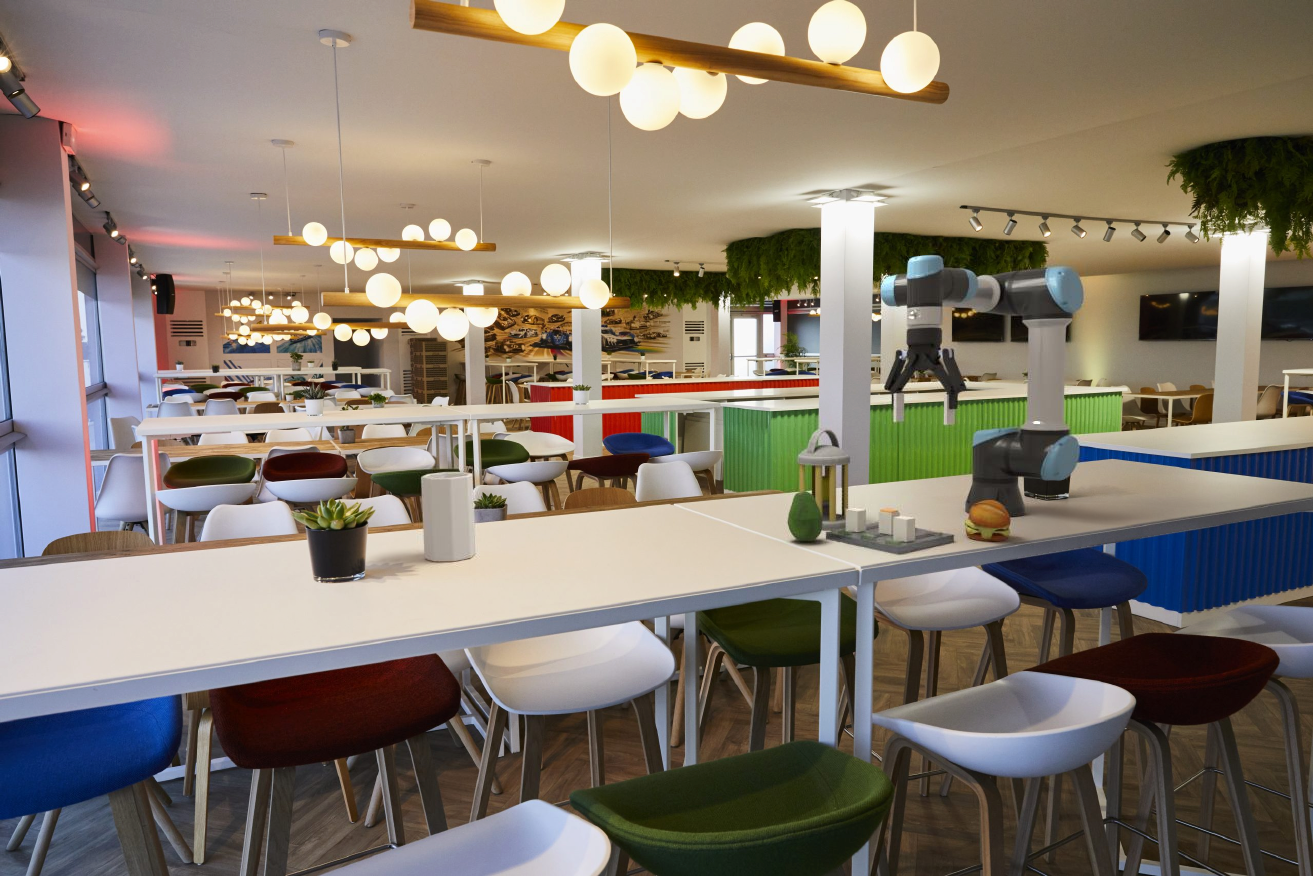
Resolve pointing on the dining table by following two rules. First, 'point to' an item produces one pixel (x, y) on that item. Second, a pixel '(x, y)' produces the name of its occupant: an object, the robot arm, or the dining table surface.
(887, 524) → the toggle mid
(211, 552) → the dining table surface
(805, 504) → the avocado
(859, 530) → the toggle low
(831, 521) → the lantern
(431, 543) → the cup
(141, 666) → the dining table surface
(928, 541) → the panel
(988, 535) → the cheeseburger
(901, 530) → the toggle high
